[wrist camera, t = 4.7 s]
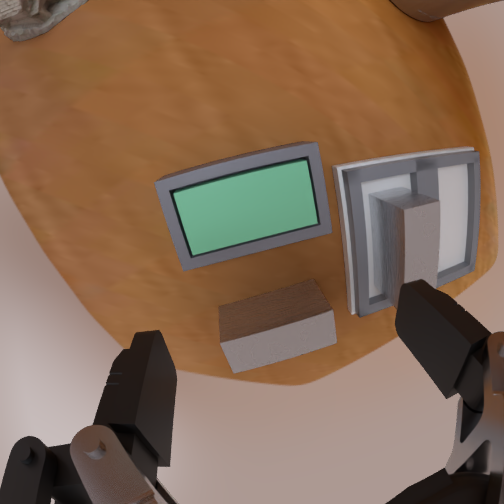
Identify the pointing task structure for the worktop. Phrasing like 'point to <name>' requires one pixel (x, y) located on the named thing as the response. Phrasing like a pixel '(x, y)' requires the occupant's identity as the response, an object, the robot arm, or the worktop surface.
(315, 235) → the box
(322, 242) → the worktop surface
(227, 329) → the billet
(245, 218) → the button
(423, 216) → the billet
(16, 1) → the ceramic cottage
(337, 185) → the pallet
